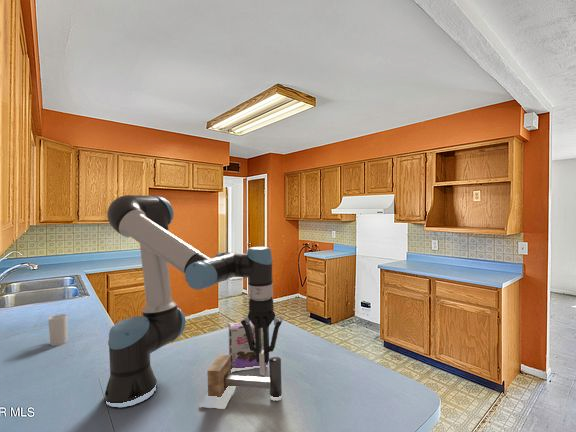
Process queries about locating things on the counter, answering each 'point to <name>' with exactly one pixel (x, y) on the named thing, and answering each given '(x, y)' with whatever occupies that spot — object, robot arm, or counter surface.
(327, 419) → the counter surface
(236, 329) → the candy box
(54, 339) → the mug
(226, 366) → the eye block
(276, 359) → the hook rod
